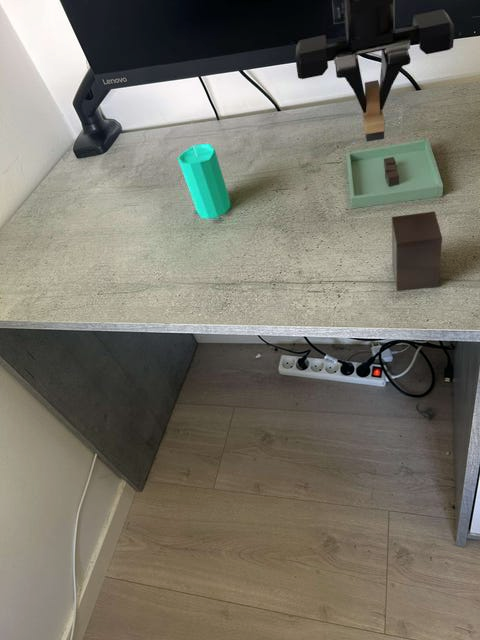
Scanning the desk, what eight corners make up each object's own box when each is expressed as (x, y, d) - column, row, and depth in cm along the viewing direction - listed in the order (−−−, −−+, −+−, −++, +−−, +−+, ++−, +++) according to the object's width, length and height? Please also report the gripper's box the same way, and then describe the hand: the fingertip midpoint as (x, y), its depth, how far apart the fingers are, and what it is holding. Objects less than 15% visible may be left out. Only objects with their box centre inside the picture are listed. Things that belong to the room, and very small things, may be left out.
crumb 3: (396, 179, 77) (396, 170, 76) (399, 184, 76) (399, 175, 75) (386, 181, 77) (385, 172, 76) (388, 187, 76) (388, 178, 75)
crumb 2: (397, 172, 78) (397, 164, 77) (395, 178, 77) (395, 170, 76) (386, 173, 79) (386, 164, 77) (385, 178, 78) (384, 170, 76)
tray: (428, 149, 81) (428, 138, 79) (442, 196, 72) (443, 185, 71) (346, 162, 84) (346, 152, 83) (351, 208, 75) (350, 198, 74)
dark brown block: (431, 260, 64) (435, 211, 59) (438, 287, 61) (442, 237, 55) (392, 264, 66) (391, 216, 60) (396, 291, 62) (396, 243, 56)
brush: (362, 121, 72) (360, 76, 67) (380, 118, 71) (379, 72, 67) (365, 142, 68) (363, 96, 63) (385, 139, 68) (384, 92, 63)
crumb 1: (393, 165, 79) (393, 156, 78) (395, 170, 78) (395, 161, 77) (383, 167, 80) (383, 158, 79) (385, 172, 79) (385, 163, 78)
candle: (201, 223, 82) (178, 160, 74) (194, 204, 86) (172, 142, 78) (234, 211, 82) (215, 146, 74) (226, 193, 86) (207, 130, 78)
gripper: (442, -59, 59) (434, 71, 71) (289, -22, 64) (305, 96, 75) (461, -33, 52) (448, 108, 64) (287, 8, 56) (305, 133, 68)
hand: (372, 110), depth 68 cm, fingers closed on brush, 2 cm apart
